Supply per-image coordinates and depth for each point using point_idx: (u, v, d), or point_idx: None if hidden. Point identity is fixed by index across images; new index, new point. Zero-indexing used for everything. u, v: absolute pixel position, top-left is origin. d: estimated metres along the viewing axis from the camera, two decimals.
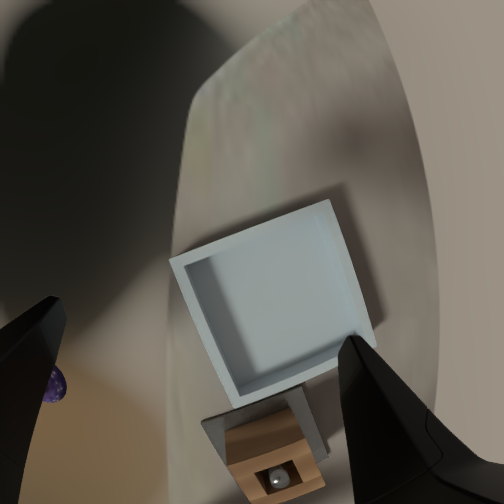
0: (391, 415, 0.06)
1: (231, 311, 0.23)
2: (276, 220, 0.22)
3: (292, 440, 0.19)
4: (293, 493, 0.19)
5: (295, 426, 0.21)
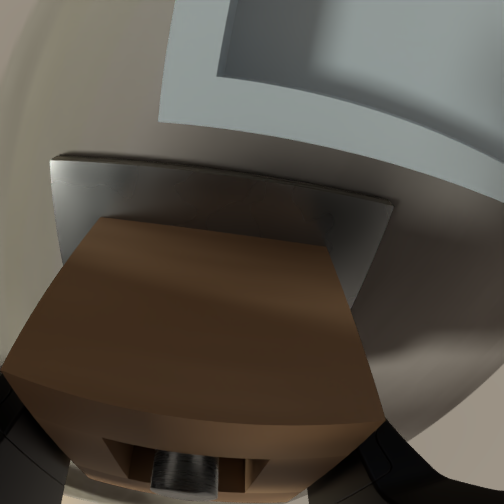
0: None
1: None
2: None
3: (328, 404, 0.04)
4: None
5: (345, 331, 0.06)
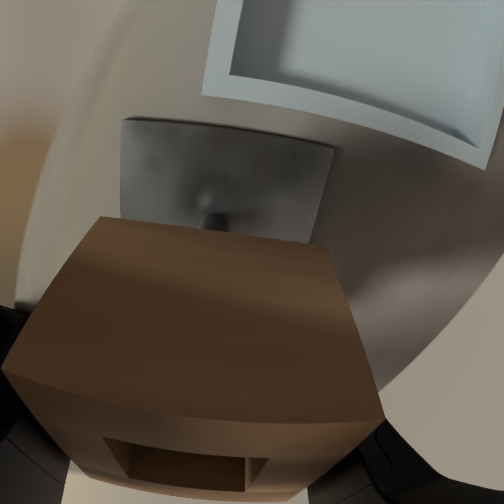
0: None
1: None
2: None
3: (328, 402, 0.04)
4: (201, 495, 0.07)
5: (345, 329, 0.06)
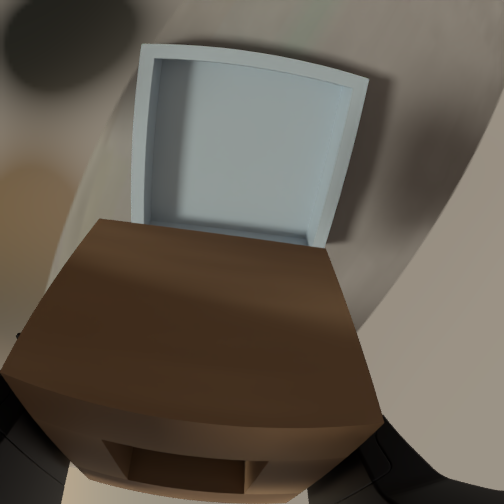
0: None
1: (184, 134, 0.17)
2: (293, 62, 0.14)
3: (327, 407, 0.04)
4: (200, 497, 0.07)
5: (344, 333, 0.06)
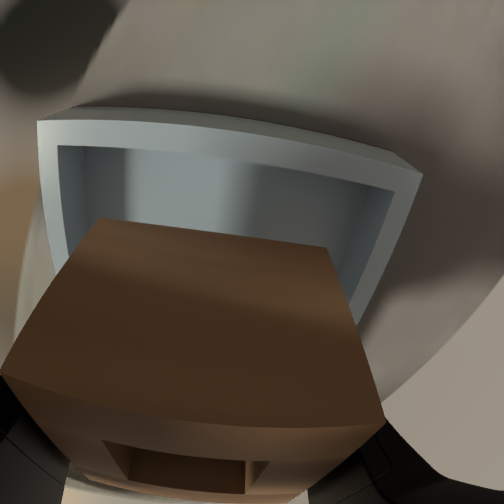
0: None
1: None
2: (295, 147, 0.08)
3: (329, 406, 0.04)
4: (201, 497, 0.07)
5: (345, 332, 0.06)
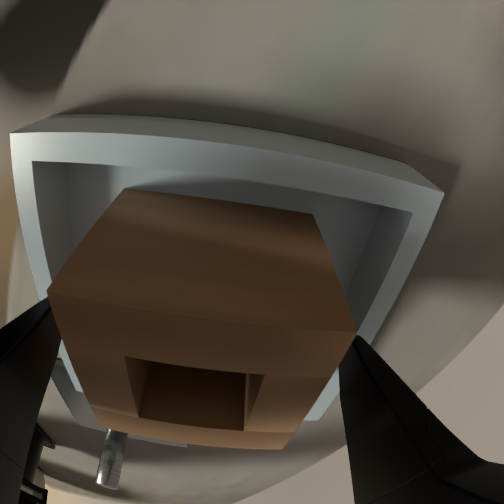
0: (391, 415, 0.06)
1: None
2: (302, 163, 0.07)
3: (310, 316, 0.06)
4: (204, 438, 0.08)
5: (325, 270, 0.07)
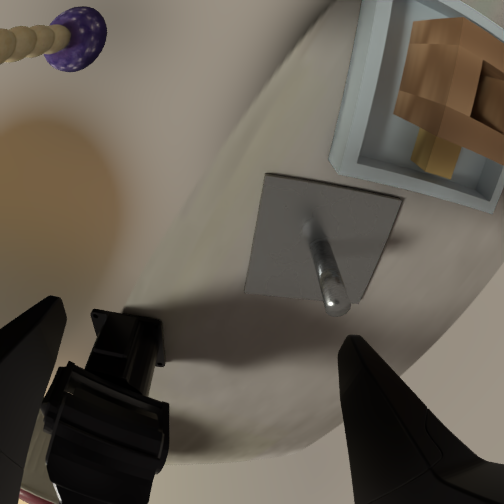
0: (391, 415, 0.06)
1: (398, 64, 0.14)
2: (498, 27, 0.10)
3: None
4: (491, 145, 0.11)
5: None
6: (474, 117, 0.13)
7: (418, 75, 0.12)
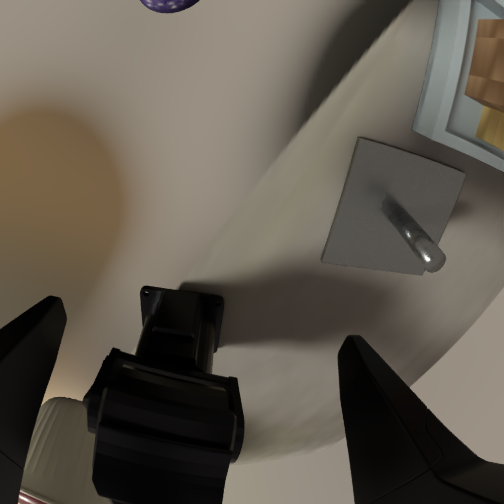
0: (391, 415, 0.06)
1: (468, 53, 0.13)
2: None
3: None
4: None
5: None
6: None
7: (489, 62, 0.12)
